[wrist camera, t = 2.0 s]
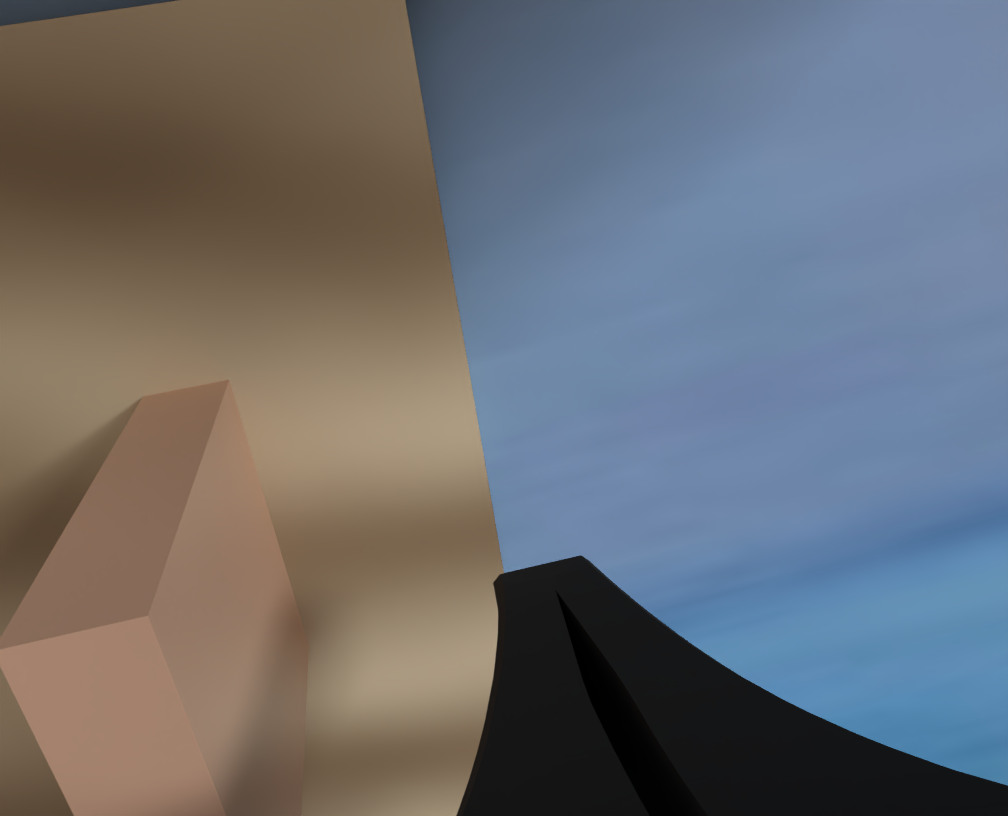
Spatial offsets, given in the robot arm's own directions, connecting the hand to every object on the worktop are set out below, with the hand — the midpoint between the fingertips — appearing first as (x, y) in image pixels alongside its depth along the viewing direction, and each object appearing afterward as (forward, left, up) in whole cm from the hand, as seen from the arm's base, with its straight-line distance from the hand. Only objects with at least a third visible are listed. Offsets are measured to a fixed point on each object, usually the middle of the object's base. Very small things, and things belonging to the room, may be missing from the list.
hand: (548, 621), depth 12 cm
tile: (0, +5, -5) cm, 7 cm away
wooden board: (0, +8, -5) cm, 9 cm away
